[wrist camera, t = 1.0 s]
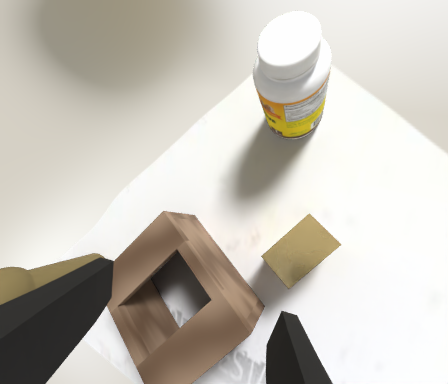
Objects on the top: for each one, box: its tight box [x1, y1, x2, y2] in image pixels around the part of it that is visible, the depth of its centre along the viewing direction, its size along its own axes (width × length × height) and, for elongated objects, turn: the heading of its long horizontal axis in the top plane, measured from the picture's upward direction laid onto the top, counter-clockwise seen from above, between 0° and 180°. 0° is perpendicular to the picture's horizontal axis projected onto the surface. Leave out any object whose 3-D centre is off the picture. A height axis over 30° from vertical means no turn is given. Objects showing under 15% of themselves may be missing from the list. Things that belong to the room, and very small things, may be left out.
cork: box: [0, 253, 104, 305], centre depth 24 cm, size 6×6×11 cm
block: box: [261, 214, 341, 289], centre depth 18 cm, size 3×5×5 cm, turn 131°
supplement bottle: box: [253, 11, 331, 139], centre depth 18 cm, size 6×6×10 cm
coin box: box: [107, 211, 265, 384], centre depth 21 cm, size 12×10×6 cm
